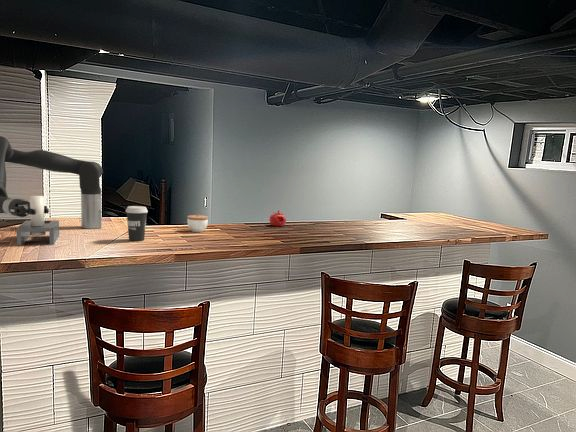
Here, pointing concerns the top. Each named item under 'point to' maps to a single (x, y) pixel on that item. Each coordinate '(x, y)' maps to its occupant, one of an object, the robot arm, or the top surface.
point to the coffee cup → (136, 222)
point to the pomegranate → (277, 219)
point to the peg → (37, 213)
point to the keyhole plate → (49, 226)
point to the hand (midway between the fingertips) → (41, 211)
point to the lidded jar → (197, 222)
